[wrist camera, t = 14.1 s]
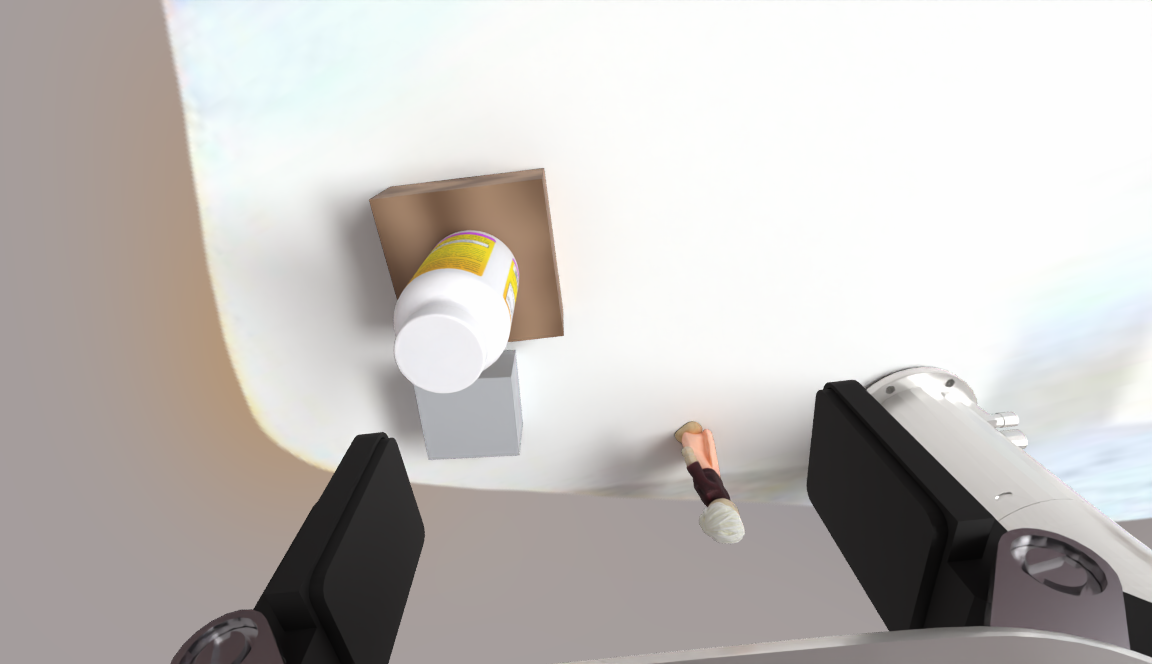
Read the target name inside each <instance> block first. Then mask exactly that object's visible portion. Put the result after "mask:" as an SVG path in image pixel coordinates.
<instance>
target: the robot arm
mask: <svg viewBox="0 0 1152 664" xmlns="http://www.w3.org/2000/svg"><path fill="white" fill-rule="evenodd" d="M1018 423H1019V419H1018V417H1017V415H1016V414H1015V413H1014V412H1011V411H1010V412H1001V413H995V414H989V413H987V412H986V411H984V410H983V409H982V408H980V407H979V406H978V405H977V399H976V397H975V394H974V392H973V390H972V389H971V388H970V387H969V385H968V384H967V383H966V382H964V381H963V380H962V379H960V378H959V377H958V376H956V375H955V374H953V373H951V372H949V371H947V370H943V369H939V368H931V367H919V368H910V369H907V370H903V371H899V372H896V373H894V374H891V375H889V376H887V377H885V378H883V379H881V380H880V381H878V382H876V383H875V384H873V385H872V386H870V387H869V388H868V389H867V390H866V389H865V388H864V387H863V386H862V385H861V384H860V383H859V382H857V381H856V380H846V381H838V382H829V383H826V384H825V386H824V388H823V390H819V391H818V392H817V394H816V400H815V410H814V419H813V429H812V438H811V448H810V457H809V467H808V477H807V492H808V496H809V499H810V501H811V503H812V504H813V506H814V508H815V509H816V511H817V513H818V514H819V516H820V518H821V519H822V521H823V523H824V524H825V526H826V527H827V529H828V531H829V532H830V534H831V536H832V537H833V539H834V541H835V542H836V544H837V546H838V547H839V549H840V550H841V552H842V554H843V555H844V557H845V559H846V561H847V562H848V564H849V565H850V567H851V569H852V570H853V572H854V574H855V575H856V577H857V579H858V580H859V582H860V583H861V585H862V587H863V588H864V590H865V592H866V594H867V595H868V597H869V599H870V600H871V602H872V604H873V605H874V607H875V608H876V610H877V612H878V613H879V615H880V617H881V618H882V620H883V622H884V623H885V625H886V626H887V628H888V630H889V631H888V632H876V633H863V634H850V635H840V636H829V637H818V638H808V639H798V640H788V641H776V642H766V643H755V644H746V645H735V646H724V647H714V648H704V649H694V650H684V651H675V652H664V653H654V654H645V655H634V656H625V657H615V658H605V659H595V660H585V661H576V662H566V663H556V664H1152V550H1151V549H1149V548H1148V547H1147V546H1146V545H1144V544H1143V543H1142V542H1140V541H1139V540H1138V539H1136V538H1135V537H1134V536H1132V535H1131V534H1130V533H1128V532H1127V531H1126V530H1124V529H1123V528H1122V527H1120V526H1119V525H1118V524H1117V523H1115V522H1114V521H1113V520H1111V519H1110V518H1109V517H1108V516H1106V515H1105V514H1104V513H1103V512H1101V511H1100V510H1099V509H1097V508H1096V507H1095V506H1093V505H1092V504H1091V503H1090V502H1088V501H1087V500H1086V499H1085V498H1083V497H1082V496H1081V495H1079V494H1078V493H1077V492H1076V491H1074V490H1073V489H1072V488H1071V487H1069V486H1068V485H1067V484H1065V483H1064V482H1063V481H1062V480H1060V479H1059V478H1058V477H1057V476H1055V475H1054V474H1053V473H1051V472H1050V471H1049V470H1048V469H1046V468H1045V467H1044V466H1043V465H1041V464H1040V463H1039V462H1038V461H1036V460H1035V459H1034V458H1032V457H1031V456H1030V455H1029V454H1027V453H1026V452H1025V451H1024V450H1022V449H1025V448H1026V446H1027V439H1026V436H1025V434H1024V433H1023V432H1022V431H1020V430H1018V429H1014V430H1005V431H998V430H997V429H996V427H1000V428H1003V427H1012V426H1017V425H1018ZM424 533H425V531H424V526H423V522H422V519H421V516H420V513H419V510H418V507H417V503H416V500H415V497H414V494H413V491H412V488H411V485H410V482H409V479H408V476H407V472H406V469H405V466H404V463H403V460H402V457H401V454H400V451H399V448H398V445H397V442H396V440H395V439H394V438H388V436H387V435H386V433H384V432H380V433H371V434H362V435H357V436H356V437H355V438H354V440H353V442H352V443H351V445H350V447H349V449H348V450H347V452H346V454H345V456H344V457H343V459H342V461H341V462H340V464H339V466H338V468H337V469H336V471H335V473H334V475H333V476H332V478H331V480H330V482H329V483H328V485H327V487H326V489H325V490H324V492H323V494H322V495H321V497H320V499H319V501H318V502H317V503H316V504H315V505H314V506H313V508H312V510H311V511H310V513H309V515H308V517H307V518H306V520H305V522H304V523H303V525H302V527H301V529H300V530H299V532H298V534H297V536H296V537H295V539H294V540H293V542H292V544H291V546H290V548H289V550H288V551H287V553H286V554H285V556H284V558H283V560H282V561H281V563H280V565H279V566H278V568H277V570H276V571H275V573H274V575H273V577H272V579H271V580H270V582H269V583H268V585H267V587H266V589H265V590H264V592H263V594H262V596H261V597H260V599H259V601H258V602H257V604H256V606H255V608H254V609H253V610H252V609H250V610H238V611H234V612H231V613H227V614H225V615H223V616H221V617H219V618H217V619H215V620H213V621H211V622H209V623H208V624H207V625H205V626H204V627H202V628H201V629H200V630H198V631H197V632H196V633H195V634H194V635H192V636H191V637H190V638H189V639H188V640H187V641H186V642H185V643H184V644H183V645H182V647H181V648H180V649H179V651H178V652H177V653H176V655H175V656H174V657H173V659H172V661H171V664H388V663H389V659H390V656H391V652H392V649H393V646H394V642H395V639H396V635H397V632H398V629H399V625H400V622H401V619H402V615H403V612H404V608H405V605H406V602H407V598H408V595H409V591H410V588H411V585H412V581H413V578H414V574H415V571H416V567H417V564H418V561H419V557H420V554H421V550H422V547H423V543H424V537H425V534H424Z"/></svg>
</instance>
